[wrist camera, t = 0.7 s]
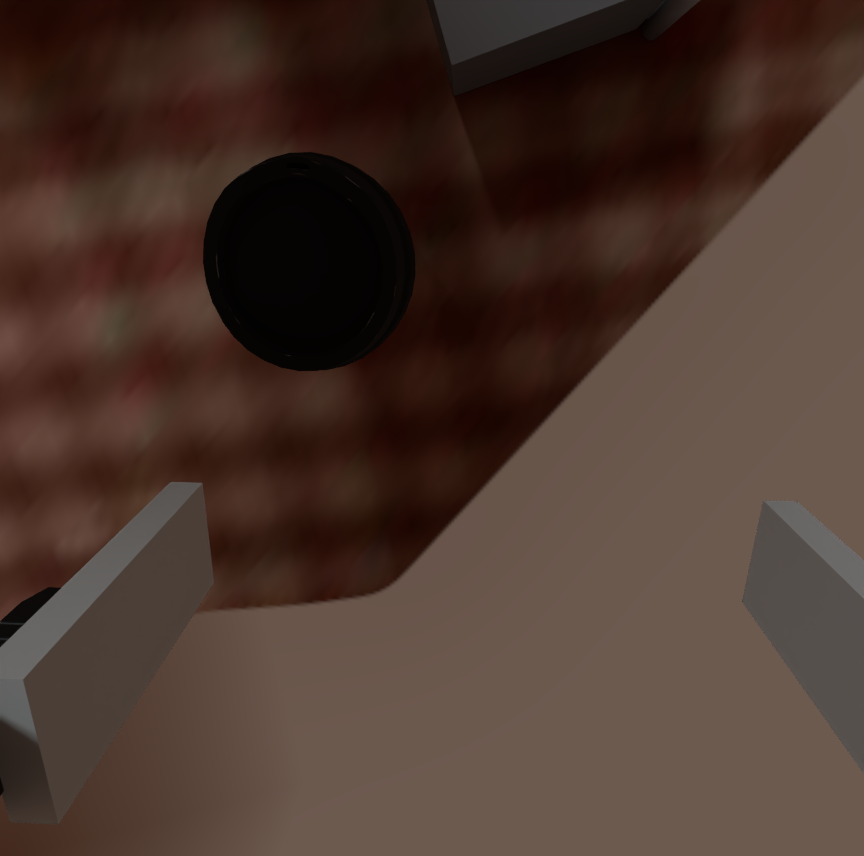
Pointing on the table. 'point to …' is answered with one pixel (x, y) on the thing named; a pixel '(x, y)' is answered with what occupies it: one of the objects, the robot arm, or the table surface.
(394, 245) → the coffee cup
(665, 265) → the table surface
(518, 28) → the camera case
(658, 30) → the side door
